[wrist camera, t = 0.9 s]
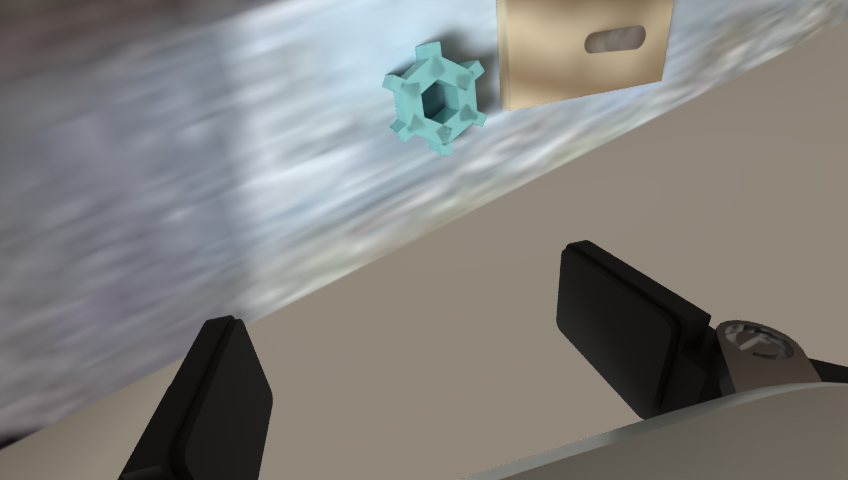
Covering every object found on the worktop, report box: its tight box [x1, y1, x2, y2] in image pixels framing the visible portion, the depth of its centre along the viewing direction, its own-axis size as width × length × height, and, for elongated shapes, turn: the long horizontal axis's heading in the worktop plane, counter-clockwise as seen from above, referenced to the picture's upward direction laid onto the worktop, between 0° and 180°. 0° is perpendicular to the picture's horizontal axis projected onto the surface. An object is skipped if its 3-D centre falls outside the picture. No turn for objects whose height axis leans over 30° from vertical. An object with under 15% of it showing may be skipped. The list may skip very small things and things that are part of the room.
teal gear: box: [382, 42, 487, 156], centre depth 29 cm, size 8×8×4 cm
